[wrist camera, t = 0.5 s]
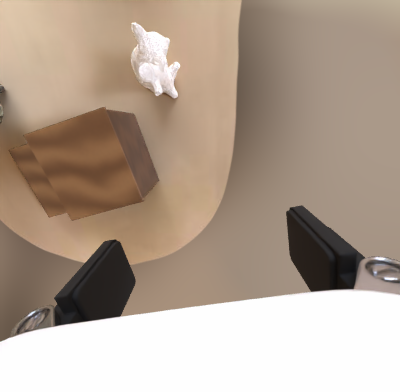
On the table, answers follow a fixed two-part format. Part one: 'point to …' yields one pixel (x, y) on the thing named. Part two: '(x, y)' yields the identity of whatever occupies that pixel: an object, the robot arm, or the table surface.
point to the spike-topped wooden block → (0, 109)
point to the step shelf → (87, 164)
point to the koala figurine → (153, 62)
